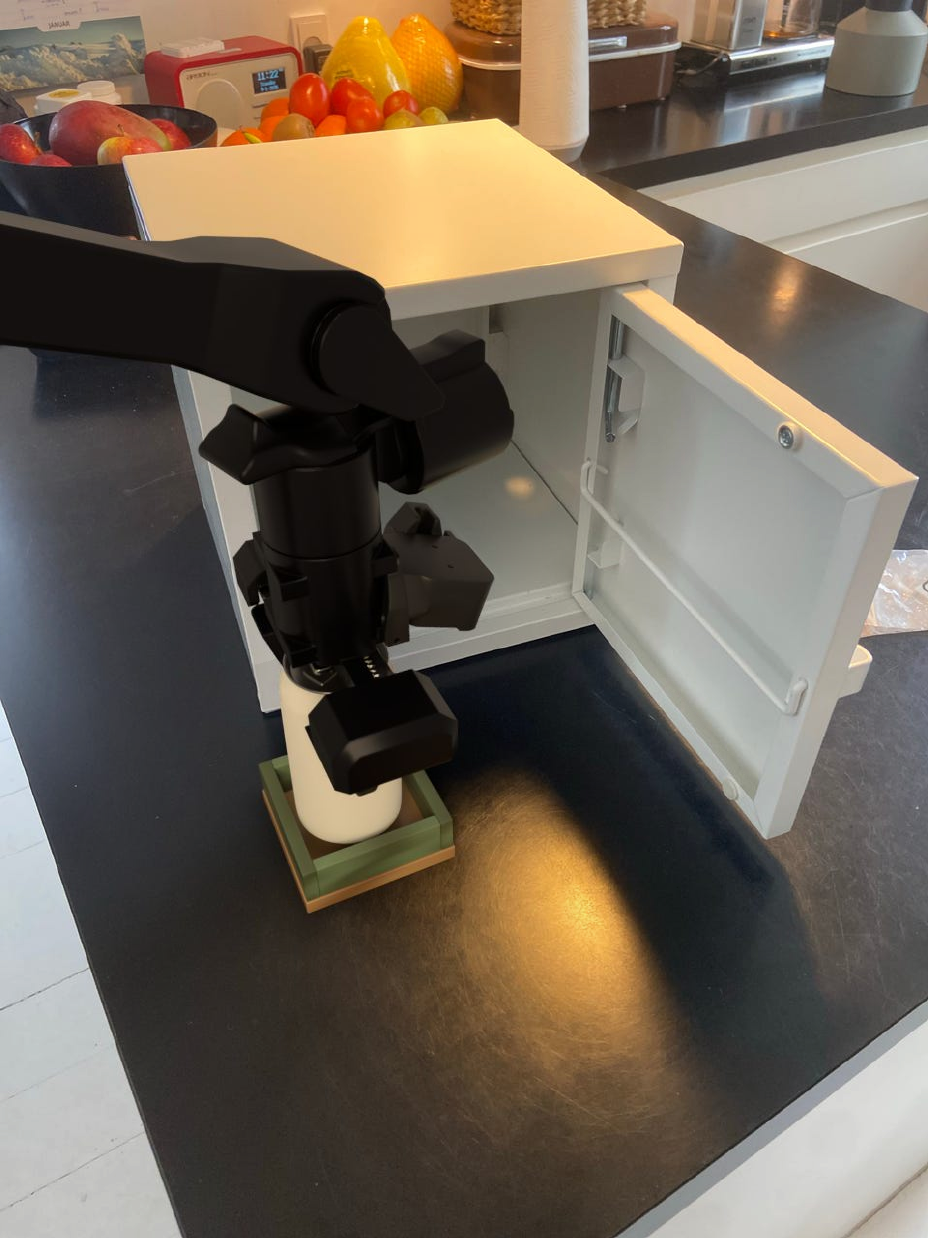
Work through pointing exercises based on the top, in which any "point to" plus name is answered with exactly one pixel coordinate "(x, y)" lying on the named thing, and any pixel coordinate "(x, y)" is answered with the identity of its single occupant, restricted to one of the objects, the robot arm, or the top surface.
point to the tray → (365, 864)
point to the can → (311, 786)
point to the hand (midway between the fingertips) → (346, 752)
